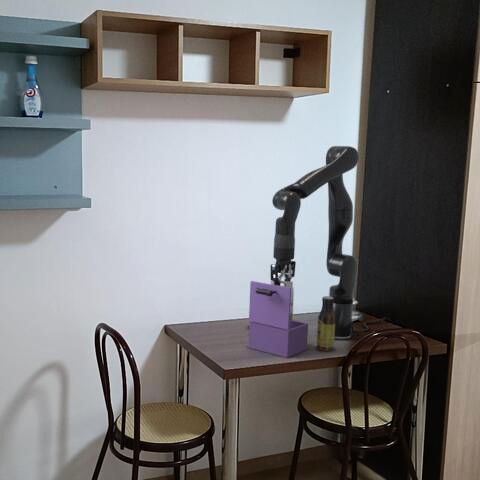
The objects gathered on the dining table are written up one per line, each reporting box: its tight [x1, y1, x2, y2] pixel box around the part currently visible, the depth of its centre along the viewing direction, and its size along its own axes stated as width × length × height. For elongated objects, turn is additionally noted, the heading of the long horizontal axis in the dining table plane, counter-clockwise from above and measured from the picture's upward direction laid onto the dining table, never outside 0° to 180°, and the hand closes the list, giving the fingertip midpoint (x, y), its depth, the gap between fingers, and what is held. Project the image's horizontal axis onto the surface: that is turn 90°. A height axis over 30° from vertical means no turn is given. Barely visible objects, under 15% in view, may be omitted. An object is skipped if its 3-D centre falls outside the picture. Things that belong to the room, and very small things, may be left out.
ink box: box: [270, 279, 295, 321], centre depth 238 cm, size 9×5×15 cm, turn 74°
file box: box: [247, 319, 309, 358], centre depth 239 cm, size 14×17×10 cm
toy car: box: [352, 297, 364, 322], centre depth 281 cm, size 18×10×12 cm
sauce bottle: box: [316, 295, 335, 352], centre depth 238 cm, size 6×6×20 cm
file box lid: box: [248, 280, 291, 330], centre depth 230 cm, size 15×17×5 cm
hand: (282, 290), depth 237 cm, fingers closed on ink box, 6 cm apart
